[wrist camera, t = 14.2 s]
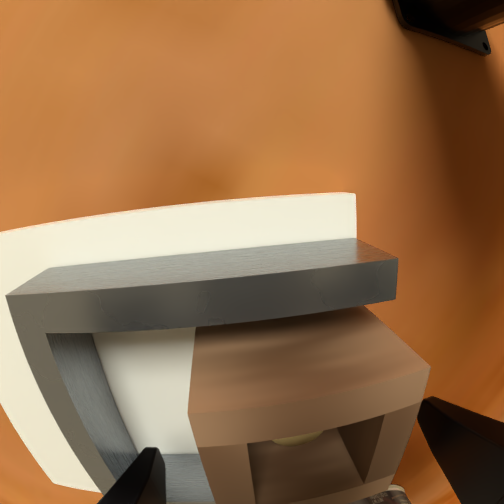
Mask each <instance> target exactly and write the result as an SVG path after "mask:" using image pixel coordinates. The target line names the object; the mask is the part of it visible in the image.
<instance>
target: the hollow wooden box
mask: <svg viewBox="0 0 504 504" xmlns="http://www.w3.org/2000/svg"><path fill="white" fill-rule="evenodd" d="M430 369H431V366H430V365H428V364H427V363H426V362H425V361H424V360H423V359H422V358H421V357H420V356H419V355H418V354H417V353H416V352H415V351H413V350H412V349H411V348H410V347H409V346H408V345H407V344H406V343H405V342H404V341H403V340H401V339H400V338H399V337H398V336H397V335H396V334H395V333H394V332H393V331H392V330H391V329H389V328H388V327H387V326H386V325H385V324H384V323H383V322H382V321H381V320H379V319H378V318H377V317H376V316H375V315H374V314H373V313H372V312H371V311H369V310H368V309H367V308H366V307H365V306H364V305H362V306H356V307H350V308H344V309H338V310H331V311H325V312H318V313H312V314H305V315H298V316H290V317H283V318H275V319H267V320H259V321H250V322H241V323H232V324H222V325H211V326H200V327H196V329H195V338H194V348H193V357H192V367H191V378H190V388H189V400H188V412H187V414H188V418H189V421H190V425H191V429H192V432H193V436H194V439H195V442H196V446H197V449H198V452H199V455H200V459H201V462H202V465H203V468H204V471H205V474H206V477H207V480H208V483H209V486H210V489H211V492H212V495H213V497H214V500H215V503H216V504H347V503H351V502H354V501H357V500H360V499H363V498H367V497H370V496H372V495H375V494H378V493H381V492H384V491H386V490H388V488H389V486H390V484H391V482H392V480H393V477H394V475H395V473H396V471H397V468H398V466H399V463H400V461H401V459H402V456H403V454H404V451H405V448H406V446H407V443H408V441H409V438H410V435H411V432H412V429H413V426H414V424H415V421H416V418H417V414H418V411H419V408H420V405H421V402H422V398H423V395H424V391H425V388H426V384H427V380H428V377H429V373H430ZM319 431H323V432H322V433H321V434H320V435H319V436H318V437H317V438H315V439H314V440H312V441H310V442H308V443H306V444H302V445H298V446H283V445H279V444H277V443H275V442H274V441H272V440H276V439H282V438H288V437H294V436H299V435H304V434H309V433H314V432H319Z"/></svg>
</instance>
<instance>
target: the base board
mask: <svg viewBox="0 0 504 504" xmlns="http://www.w3.org/2000/svg"><path fill="white" fill-rule="evenodd" d="M346 238H356V194H353V193H345V192H335V193H314V194H297V195H282V196H267V197H254V198H242V199H230V200H219V201H209V202H199V203H189V204H180V205H171V206H162V207H154V208H146V209H138V210H130V211H123V212H116V213H108V214H101V215H95V216H88V217H81V218H75V219H69V220H63V221H57V222H51V223H45V224H39V225H34V226H28V227H23V228H18V229H12V230H7V231H2V232H0V403H1V405H2V407H3V409H4V410H5V412H6V414H7V416H8V417H9V419H10V421H11V423H12V424H13V426H14V428H15V429H16V431H17V432H18V434H19V436H20V437H21V439H22V440H23V442H24V443H25V445H26V446H27V448H28V449H29V451H30V452H31V454H32V455H33V457H34V458H35V459H36V461H37V462H38V464H39V465H40V466H41V468H42V469H43V470H44V472H45V473H46V474H47V476H48V477H49V478H50V479H51V481H52V482H53V483H54V484H58V485H63V486H67V487H72V488H77V489H82V490H88V491H94V492H100V493H101V491H100V490H99V489H98V487H97V486H96V485H95V483H94V482H93V480H92V479H91V478H90V476H89V475H88V473H87V472H86V470H85V469H84V467H83V466H82V464H81V463H80V461H79V460H78V458H77V457H76V455H75V454H74V452H73V450H72V449H71V447H70V446H69V444H68V442H67V441H66V439H65V437H64V435H63V434H62V432H61V430H60V428H59V427H58V425H57V423H56V421H55V419H54V417H53V416H52V414H51V412H50V410H49V408H48V406H47V404H46V402H45V400H44V398H43V396H42V394H41V391H40V389H39V387H38V385H37V383H36V381H35V378H34V376H33V374H32V371H31V369H30V367H29V364H28V362H27V359H26V357H25V354H24V352H23V349H22V346H21V344H20V341H19V338H18V335H17V332H16V329H15V326H14V323H13V320H12V317H11V314H10V311H9V307H8V304H7V300H6V297H5V295H7V294H8V293H10V292H11V291H13V290H14V289H16V288H17V287H19V286H20V285H22V284H24V283H25V282H27V281H28V280H30V279H32V278H33V277H35V276H36V275H38V274H40V273H41V272H43V271H44V270H46V269H48V268H52V267H61V266H71V265H81V264H90V263H100V262H110V261H120V260H130V259H140V258H149V257H159V256H170V255H180V254H190V253H200V252H210V251H220V250H230V249H241V248H251V247H261V246H272V245H282V244H293V243H303V242H314V241H325V240H335V239H346ZM195 329H196V327H188V328H175V329H161V330H145V331H125V332H99V333H92V337H93V340H94V343H95V347H96V350H97V353H98V356H99V359H100V362H101V365H102V368H103V371H104V374H105V377H106V379H107V382H108V385H109V388H110V390H111V393H112V395H113V398H114V401H115V403H116V406H117V408H118V411H119V413H120V415H121V418H122V420H123V422H124V425H125V427H126V429H127V431H128V434H129V436H130V438H131V440H132V442H133V445H134V447H135V449H136V451H137V453H138V454H140V453H141V451H142V450H143V449H144V448H145V447H157V448H159V450H160V453H161V454H199V452H198V449H197V446H196V442H195V439H194V436H193V432H192V429H191V425H190V421H189V418H188V414H187V412H188V400H189V388H190V378H191V367H192V357H193V348H194V338H195ZM322 432H323V431H319V432H314V433H309V434H304V435H299V436H294V437H288V438H282V439H276V440H272V441H274V442H275V443H277V444H279V445H283V446H298V445H302V444H306V443H308V442H310V441H312V440H314V439H315V438H317V437H318V436H319V435H320V434H321V433H322Z"/></svg>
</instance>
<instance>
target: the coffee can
mask: <svg viewBox="0 0 504 504" xmlns="http://www.w3.org/2000/svg"><path fill="white" fill-rule="evenodd" d="M347 504H411V503H410V501H409V499H408V498H407V496H406V494H405V490H404V488H403V487H401V486H398V485H390V486H389V488H388V490H386V491H384V492H381V493H378V494H375V495H372V496H370V497H367V498H363V499H360V500H357V501H354V502H351V503H347Z"/></svg>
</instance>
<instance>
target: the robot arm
mask: <svg viewBox="0 0 504 504" xmlns="http://www.w3.org/2000/svg"><path fill="white" fill-rule="evenodd" d="M393 3H394V7H395V10H396V14H397V18H398V20H399V22H400V24H401V25H402V26H403V27H405V28H406V29H409V30H412V31H416V32H419V33H422V34H426V35H429V36H432V37H435V38H438V39H441V40H444V41H447V42H450V43H452V44H455V45H458V46H460V47H463V48H466V49H468V50H471V51H473V52H475V53H478V54H480V55H482V56H486V55H489V54H491V49H490V45H489V42H488V38H487V35H486V32H485V30H488V29H490V28H493V27H495V26H498V25H500V24H503V23H504V0H393ZM407 18H408V19H409V20H410V21H409V20H408V19H407ZM417 420H418V423H419V425H420V427H421V429H422V431H423V434H424V436H425V438H426V440H427V443H428V445H429V447H430V449H431V451H432V453H433V455H434V457H435V459H436V460H437V462H438V464H439V465H440V467H441V469H442V470H443V472H444V474H445V476H446V477H447V479H448V481H449V483H450V484H451V486H452V488H453V490H454V492H455V493H456V495H457V497H458V499H459V501H460V502H461V504H504V423H503V422H500V421H497V420H495V419H492V418H489V417H486V416H483V415H481V414H478V413H475V412H473V411H470V410H467V409H465V408H462V407H459V406H457V405H454V404H452V403H449V402H446V401H444V400H441V399H439V398H436V397H434V396H431V397H428V398H425V399H423V400H422V402H421V405H420V408H419V411H418V415H417ZM97 504H166V467H165V462H164V459H163V457H162V455H161V453H160V450H159V448H157V447H145V448H144V449H143V450H142V451H141V453H140V454H139V455H138V456H137V457H136V459H135V460H134V461H133V462H132V463H131V465H130V466H129V467H128V468H127V469H126V470H125V472H124V473H123V474H122V475H121V476H120V478H119V479H118V480H117V481H116V482H115V483H114V485H113V486H112V487H111V488H110V489H109V490H108V492H107V493H106V494H105V495H104V496H103V497H102V498H101V500H100V501H99V502H98V503H97Z"/></svg>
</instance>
